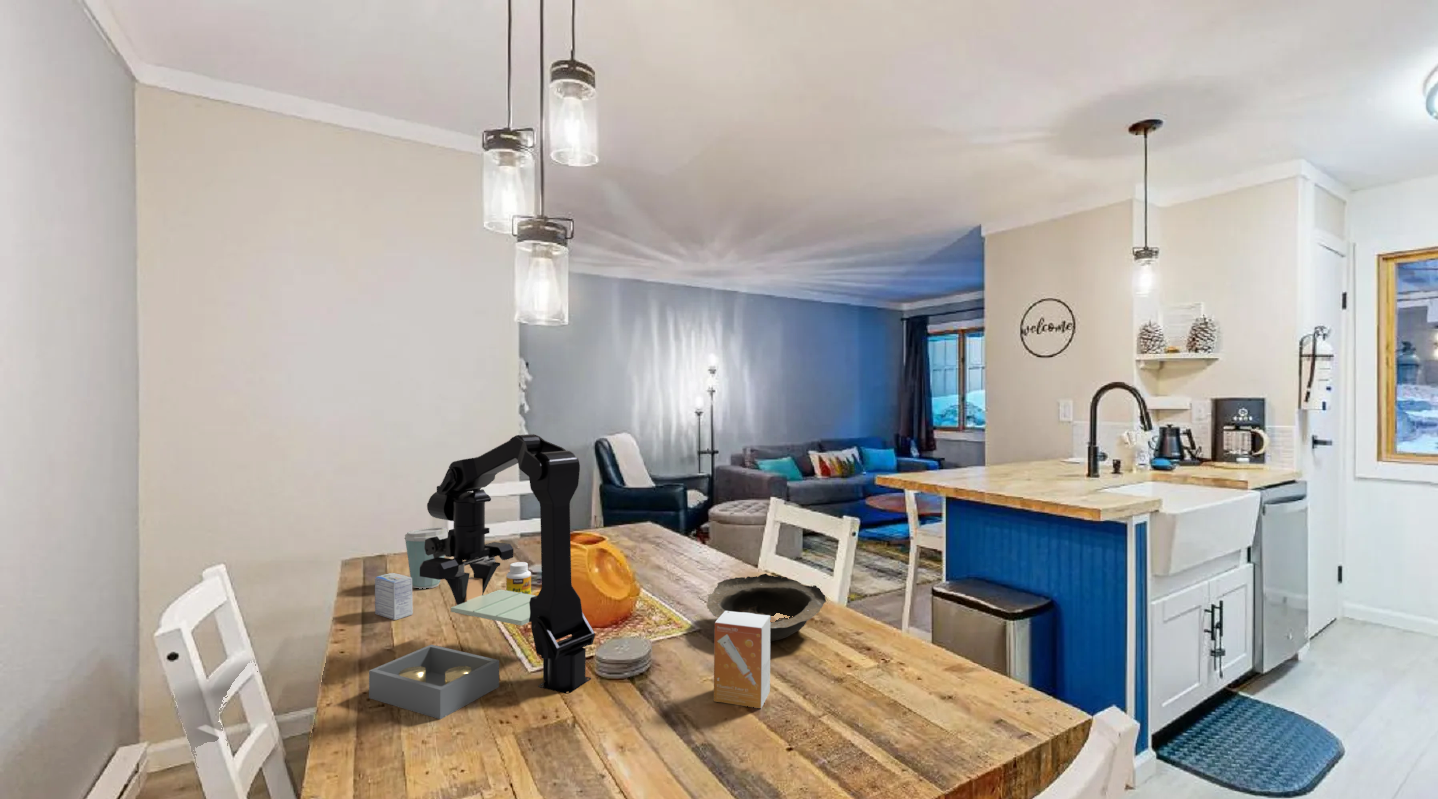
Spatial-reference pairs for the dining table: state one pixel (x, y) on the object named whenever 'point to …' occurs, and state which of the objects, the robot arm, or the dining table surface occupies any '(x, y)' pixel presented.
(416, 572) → the disposable coffee cup
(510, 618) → the lid
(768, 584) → the stone bowl
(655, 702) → the dining table surface
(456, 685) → the tub
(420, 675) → the brass part
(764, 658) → the small box
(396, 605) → the medicine box
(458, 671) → the brass part
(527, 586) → the supplement bottle
